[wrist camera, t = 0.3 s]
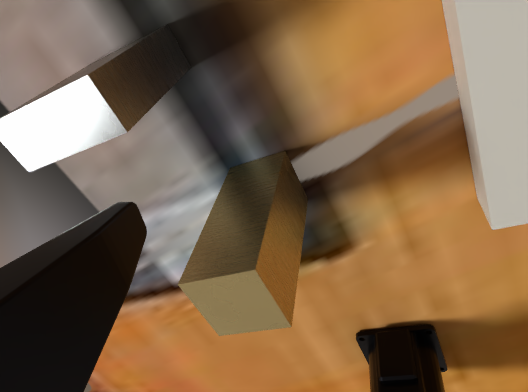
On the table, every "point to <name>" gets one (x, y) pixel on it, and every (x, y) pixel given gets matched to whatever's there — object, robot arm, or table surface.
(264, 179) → the square bit
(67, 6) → the table surface
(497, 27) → the grey slab with hole
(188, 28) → the table surface
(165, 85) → the bar
